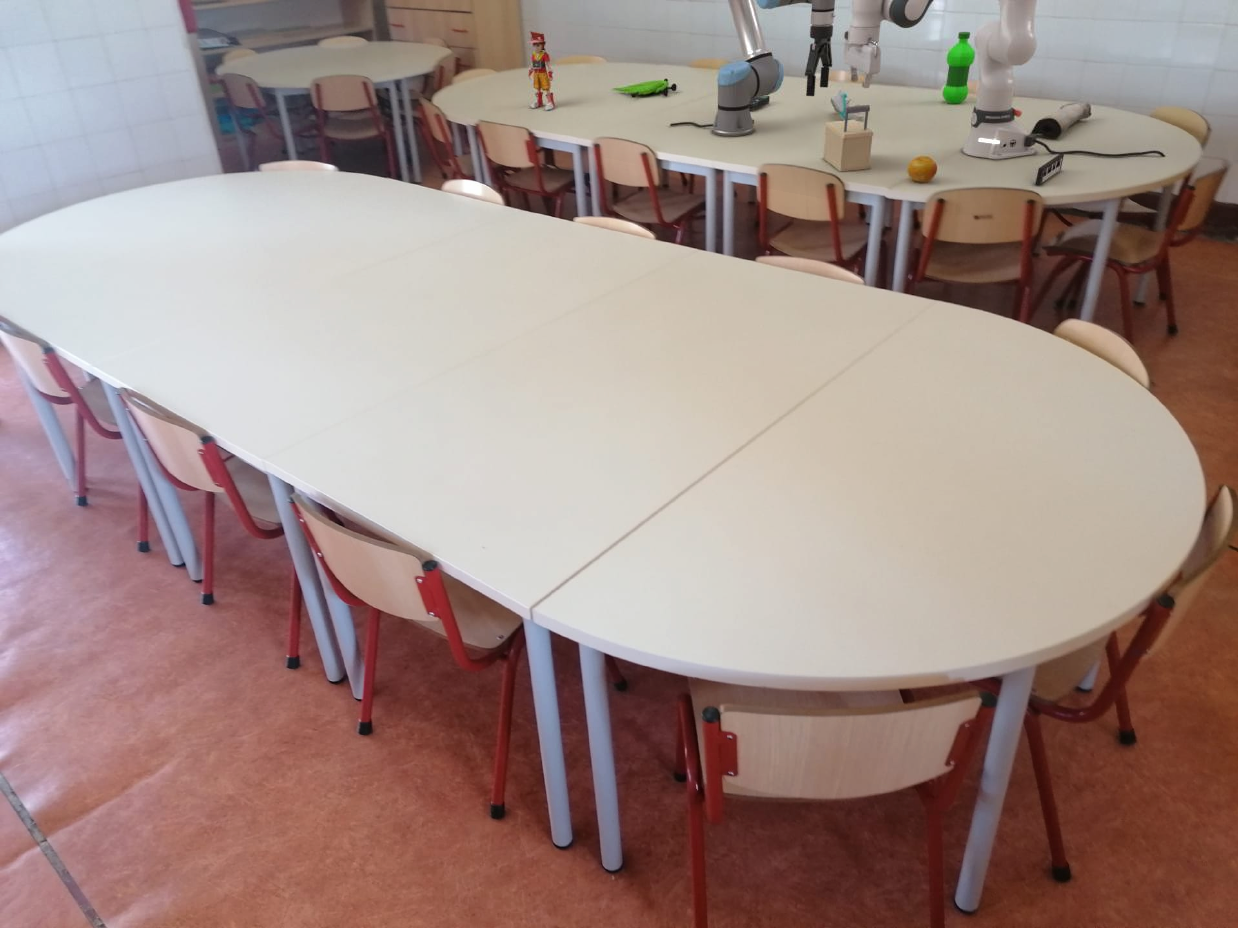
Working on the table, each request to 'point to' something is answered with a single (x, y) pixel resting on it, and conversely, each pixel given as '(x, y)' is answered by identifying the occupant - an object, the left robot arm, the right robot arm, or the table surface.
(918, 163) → the fruit
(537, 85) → the toy
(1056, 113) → the rolled mat
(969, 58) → the plastic bottle
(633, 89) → the toy
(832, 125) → the lid
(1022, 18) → the right robot arm
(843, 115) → the anatomical model
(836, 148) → the chest
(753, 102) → the disk drive
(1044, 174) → the midi keyboard
